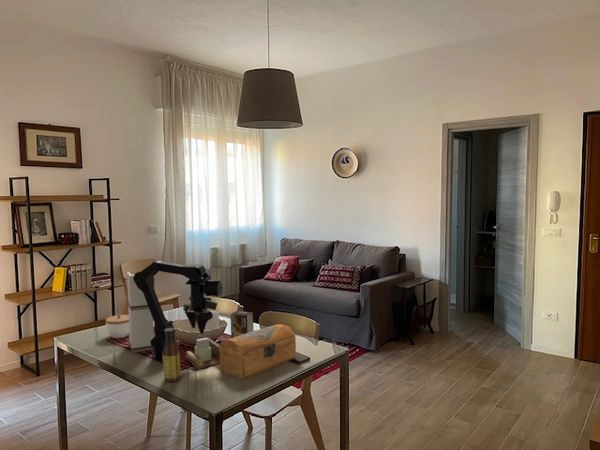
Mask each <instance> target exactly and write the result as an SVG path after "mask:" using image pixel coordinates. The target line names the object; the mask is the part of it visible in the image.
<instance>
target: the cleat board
mask: <svg viewBox="0 0 600 450" xmlns="http://www.w3.org/2000/svg"><path fill="white" fill-rule="evenodd" d="M219 345H220V343H218V342H217V343H216V342H214V341H213V340H211V339H210V338H209V347H210V348H211V360H207V361H203V362H202V360H201V359H200V358H198V357H197V356H196V355H195V353H193V352H192V351H190V350H189V351H186V356H185V359H186V361H188V362H189V361H190V362H191V363H192V364H191V365H192V366H193V367H195V368H196V369H197V370H200V369H205V368H208V367H212V366H215V365H216V366H217V365H220V352H219ZM190 362H189V363H190Z"/></svg>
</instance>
